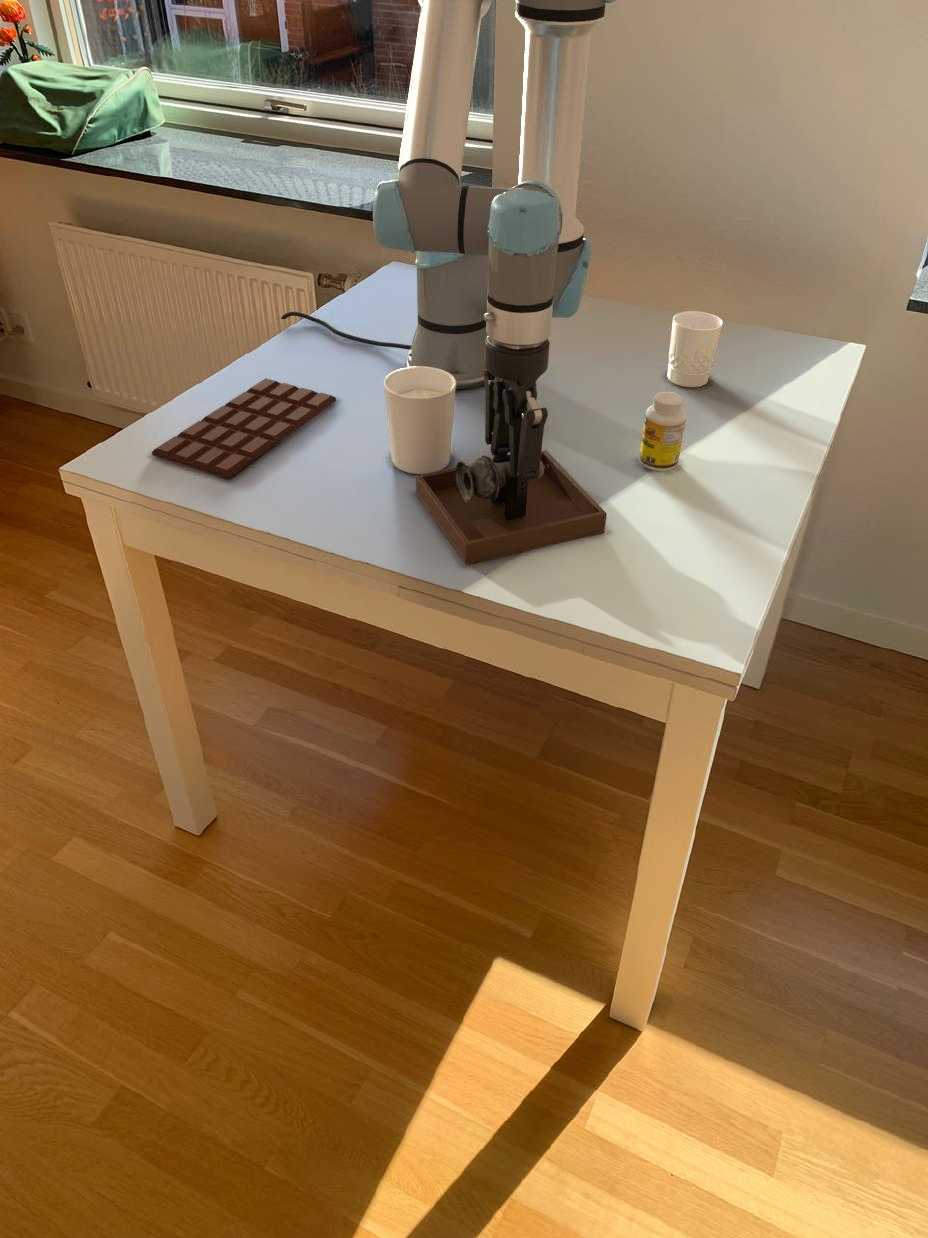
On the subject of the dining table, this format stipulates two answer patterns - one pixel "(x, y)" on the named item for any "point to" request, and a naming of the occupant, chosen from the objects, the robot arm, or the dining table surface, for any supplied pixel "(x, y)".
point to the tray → (485, 532)
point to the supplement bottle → (663, 432)
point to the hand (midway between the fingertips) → (508, 507)
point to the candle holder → (420, 418)
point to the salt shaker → (484, 478)
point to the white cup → (693, 347)
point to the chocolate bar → (244, 428)
